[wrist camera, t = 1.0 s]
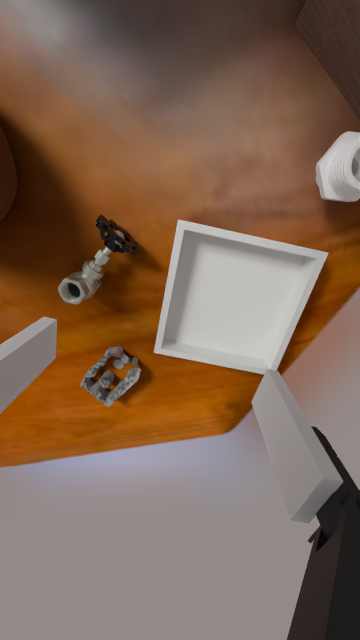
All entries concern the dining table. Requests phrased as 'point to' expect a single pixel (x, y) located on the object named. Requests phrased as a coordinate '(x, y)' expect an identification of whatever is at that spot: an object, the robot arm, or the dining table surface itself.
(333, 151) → the pipe fitting
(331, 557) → the robot arm
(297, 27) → the tissue box cover
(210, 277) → the tray
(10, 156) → the brown vase
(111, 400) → the grey open frame part
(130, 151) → the dining table surface
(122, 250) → the valve
